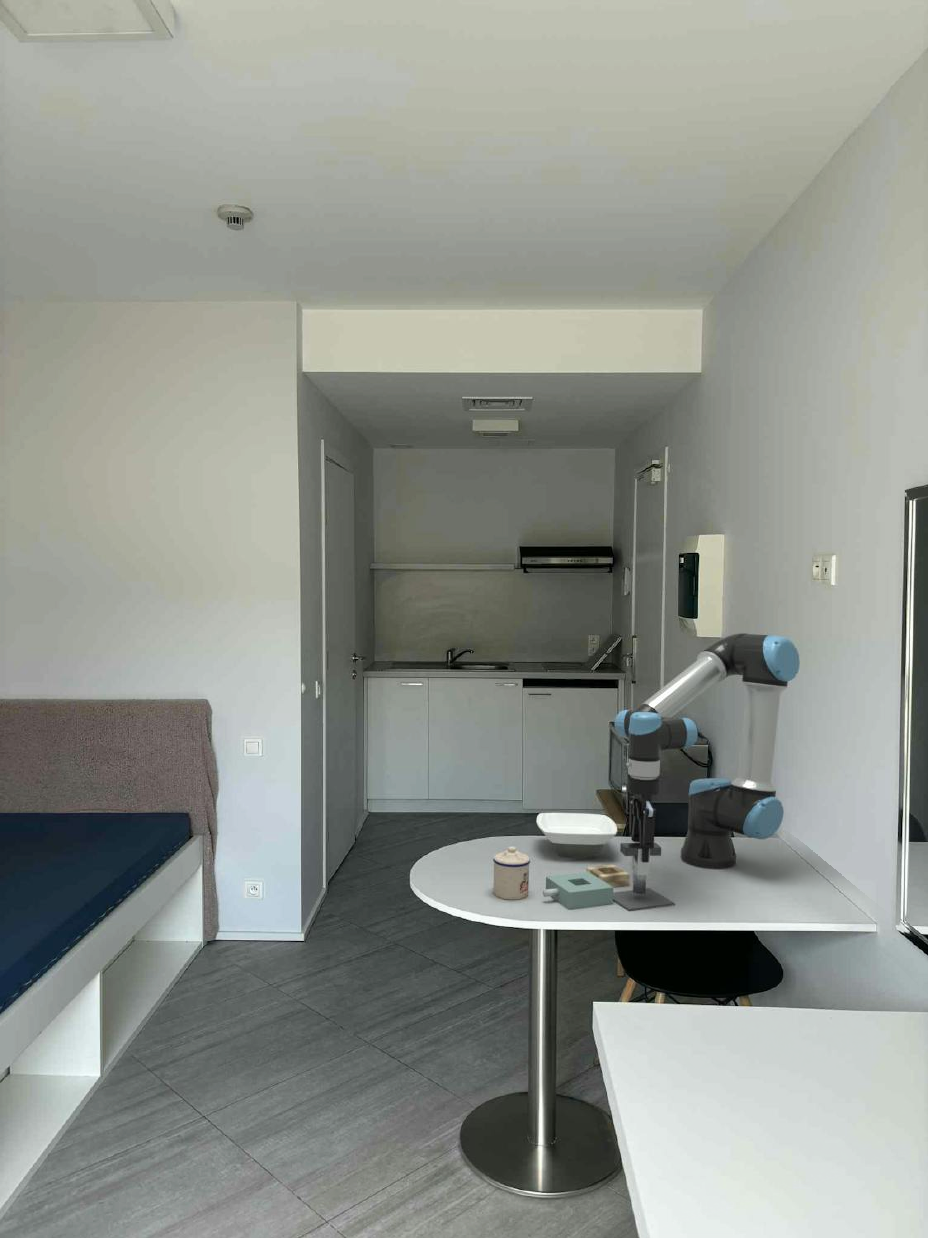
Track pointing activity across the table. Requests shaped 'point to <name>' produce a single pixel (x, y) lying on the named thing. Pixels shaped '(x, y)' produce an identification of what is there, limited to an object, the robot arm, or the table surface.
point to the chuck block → (578, 890)
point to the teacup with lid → (511, 874)
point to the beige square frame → (610, 875)
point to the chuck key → (632, 850)
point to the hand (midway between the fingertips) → (640, 871)
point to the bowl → (577, 832)
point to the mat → (640, 900)
